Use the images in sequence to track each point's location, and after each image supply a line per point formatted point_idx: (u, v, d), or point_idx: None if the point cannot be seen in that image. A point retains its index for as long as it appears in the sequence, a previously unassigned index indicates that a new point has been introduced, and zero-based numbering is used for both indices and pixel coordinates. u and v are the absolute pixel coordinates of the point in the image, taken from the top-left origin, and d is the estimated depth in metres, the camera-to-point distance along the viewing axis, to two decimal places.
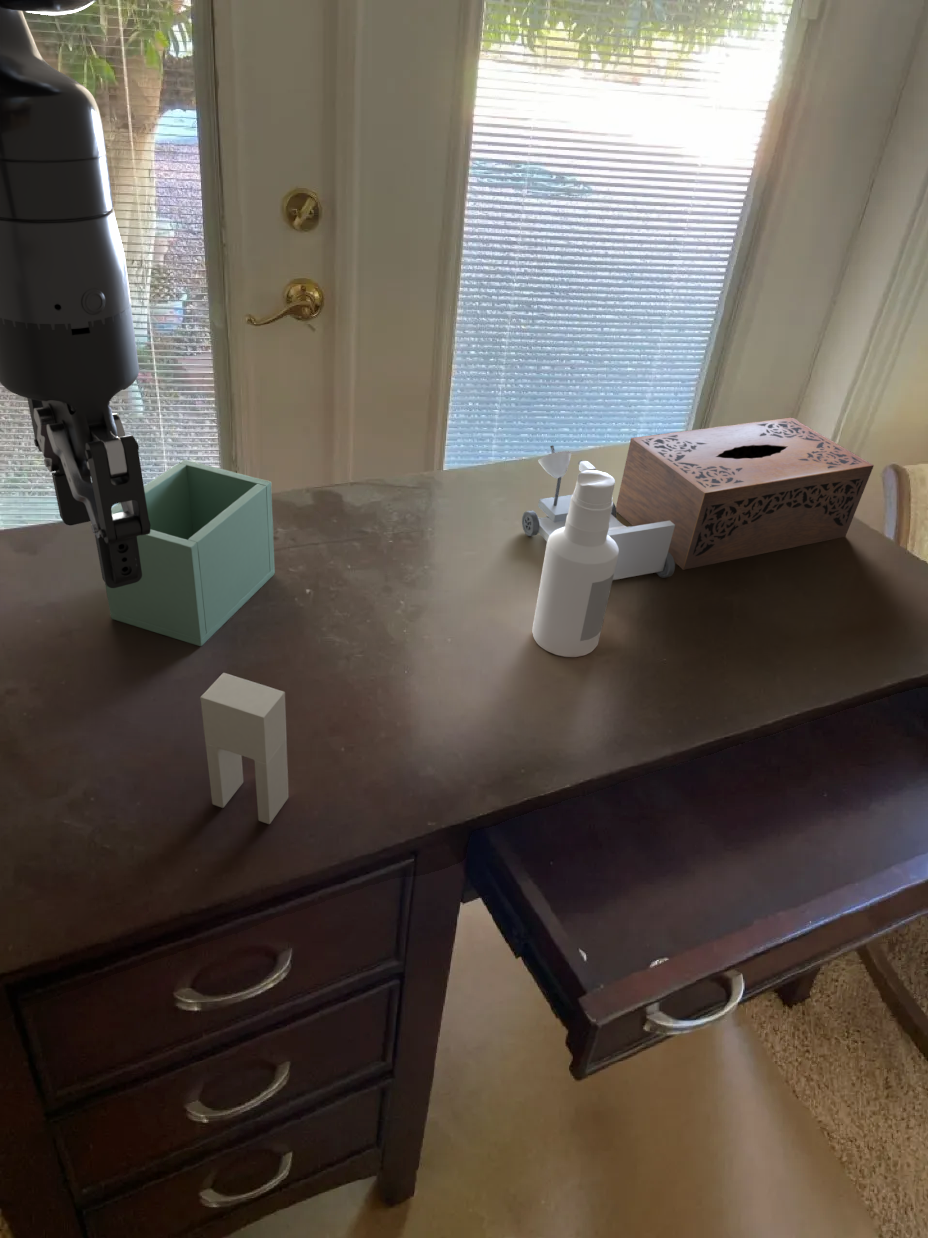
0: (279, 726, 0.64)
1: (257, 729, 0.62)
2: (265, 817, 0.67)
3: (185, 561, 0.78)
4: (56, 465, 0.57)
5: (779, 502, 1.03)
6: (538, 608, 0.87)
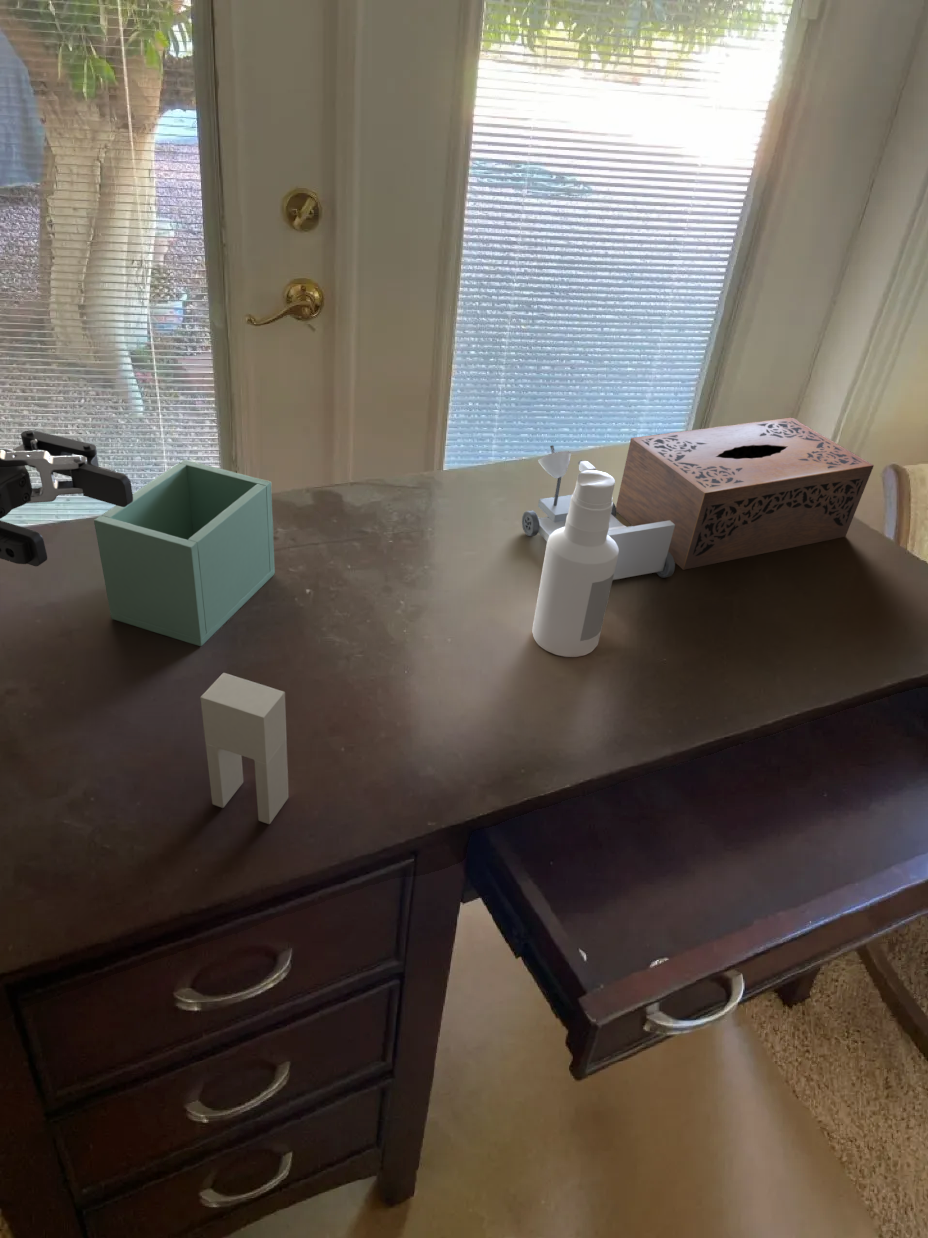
0: (279, 726, 0.64)
1: (257, 729, 0.62)
2: (265, 817, 0.67)
3: (185, 561, 0.78)
4: None
5: (779, 502, 1.03)
6: (538, 608, 0.87)
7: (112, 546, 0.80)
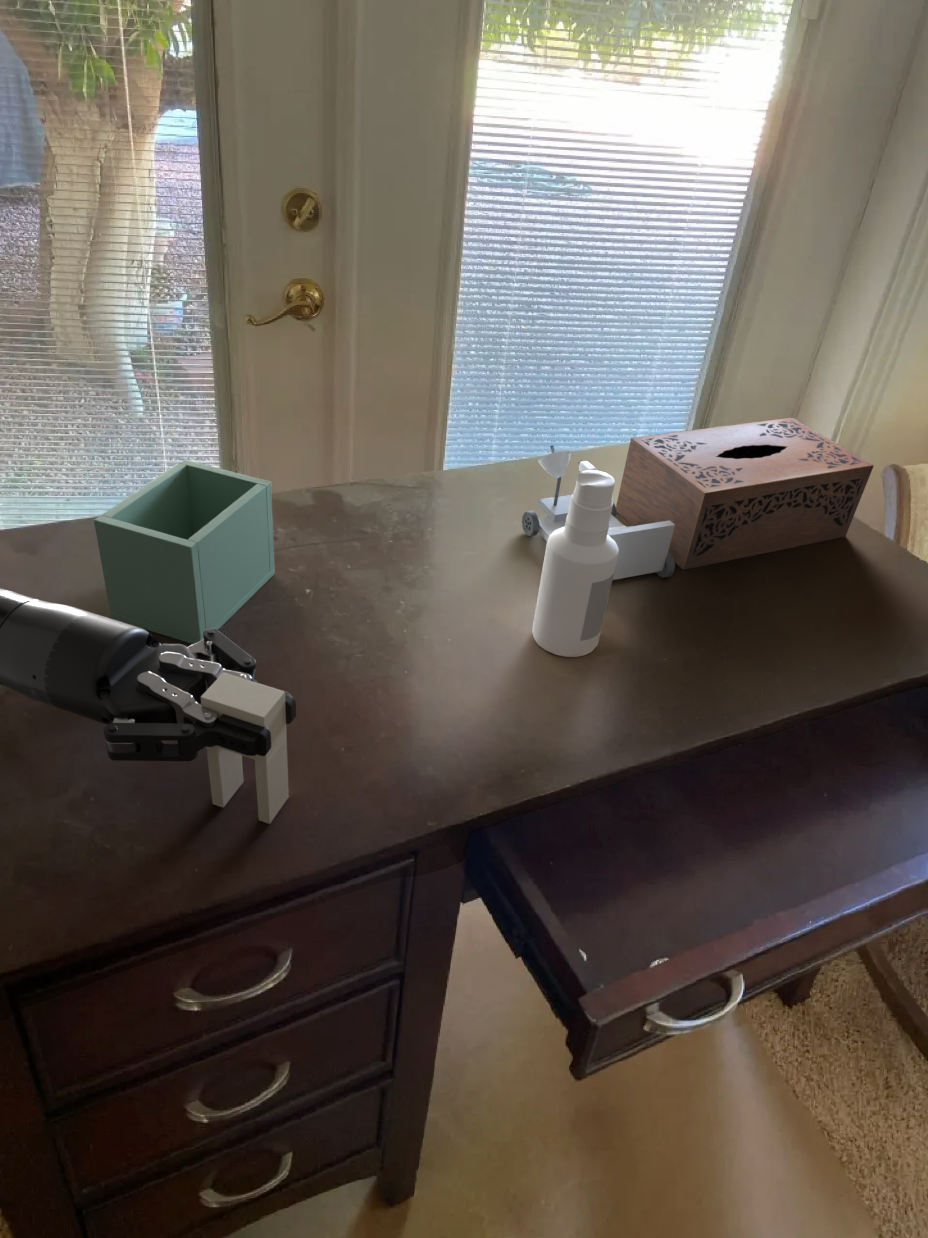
0: (279, 726, 0.64)
1: None
2: (265, 817, 0.67)
3: (185, 561, 0.78)
4: None
5: (779, 502, 1.03)
6: (538, 608, 0.87)
7: (112, 546, 0.80)
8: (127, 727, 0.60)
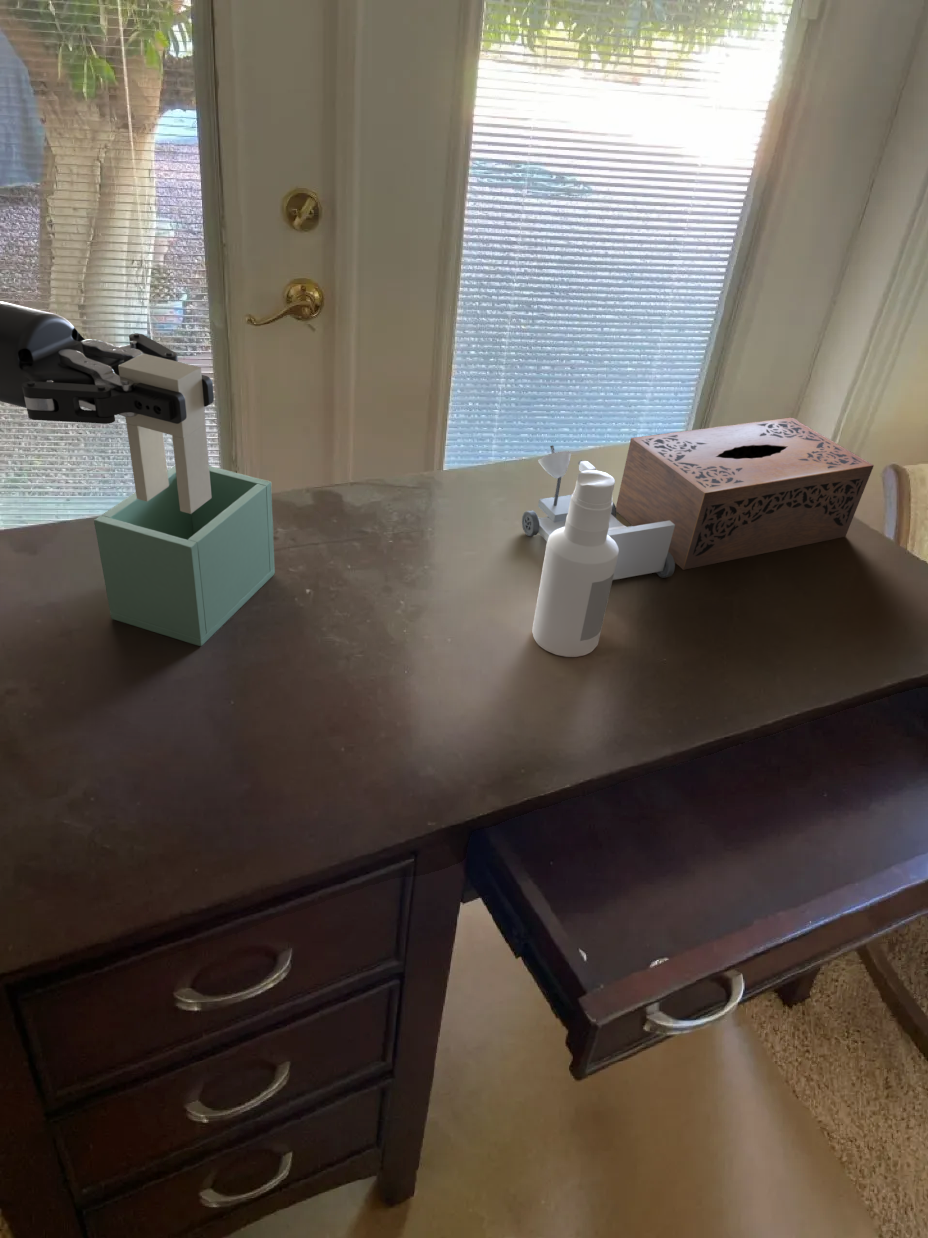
0: (196, 403, 0.66)
1: None
2: (186, 505, 0.69)
3: (185, 561, 0.78)
4: None
5: (779, 502, 1.03)
6: (538, 608, 0.87)
7: (112, 546, 0.80)
8: (45, 384, 0.63)
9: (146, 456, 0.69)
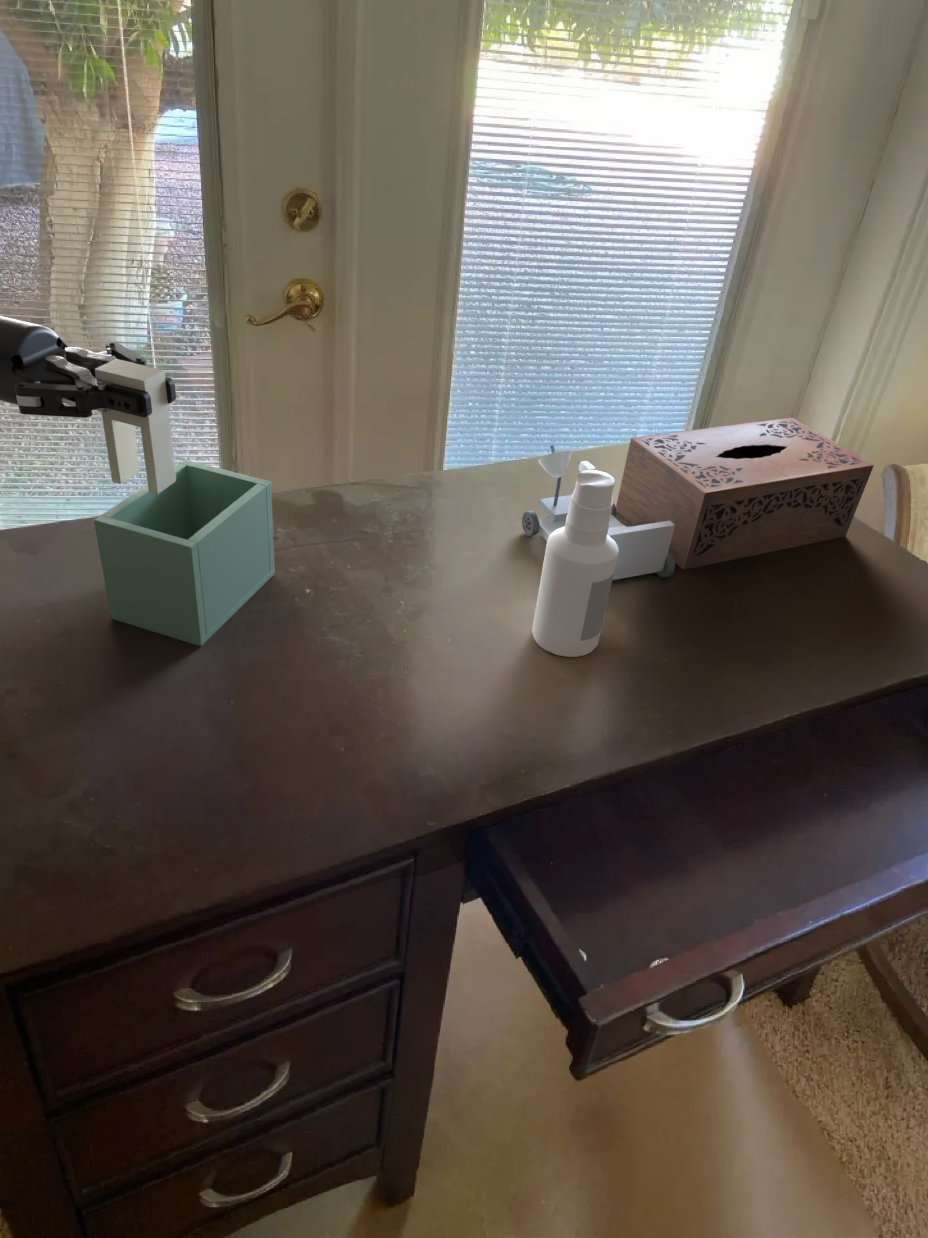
0: (161, 400, 0.79)
1: None
2: (153, 487, 0.82)
3: (185, 561, 0.78)
4: None
5: (779, 502, 1.03)
6: (538, 608, 0.87)
7: (112, 546, 0.80)
8: (33, 384, 0.75)
9: (119, 445, 0.82)
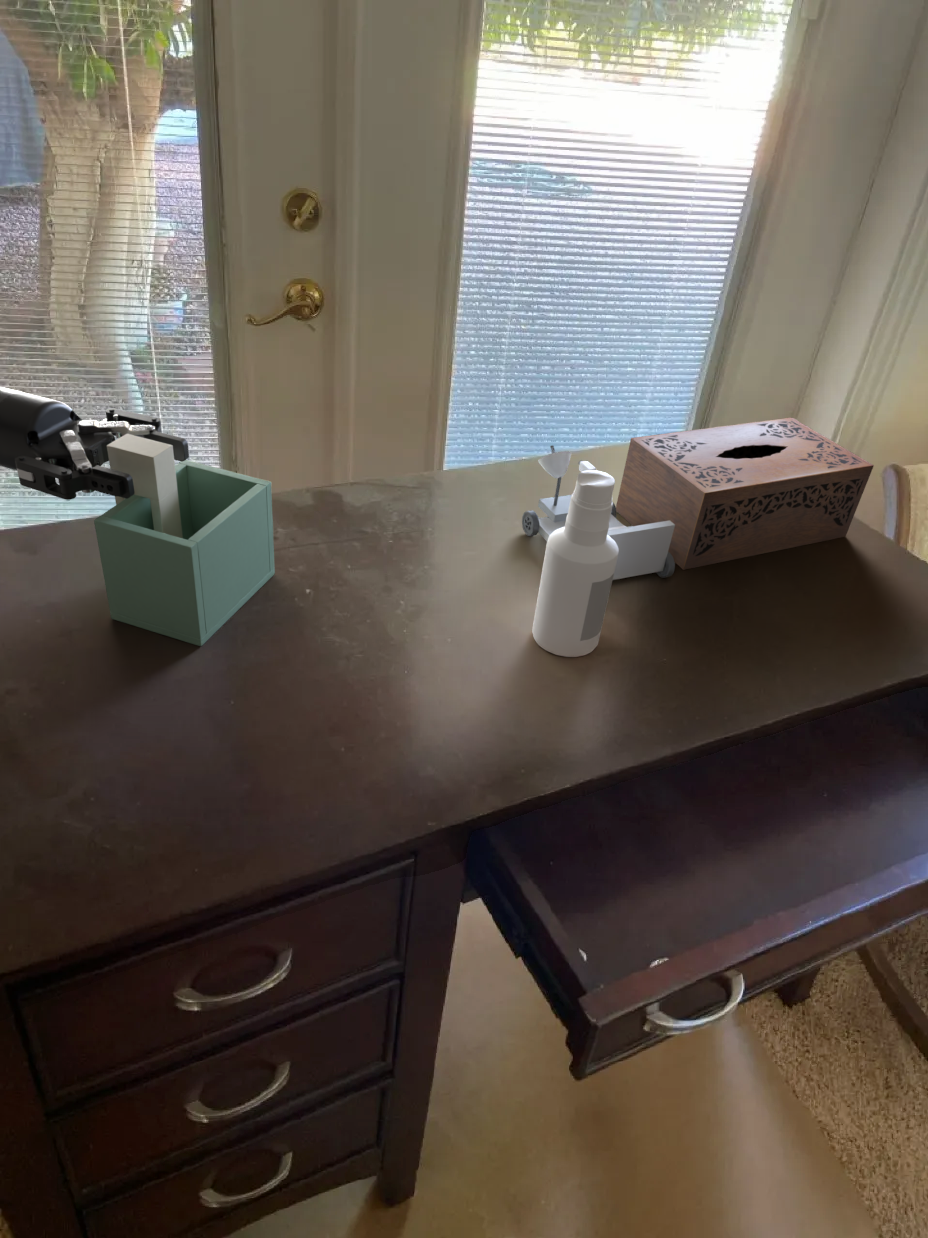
0: (169, 473, 0.83)
1: (149, 469, 0.81)
2: None
3: (185, 561, 0.78)
4: None
5: (779, 502, 1.03)
6: (538, 608, 0.87)
7: (112, 546, 0.80)
8: (31, 460, 0.79)
9: None
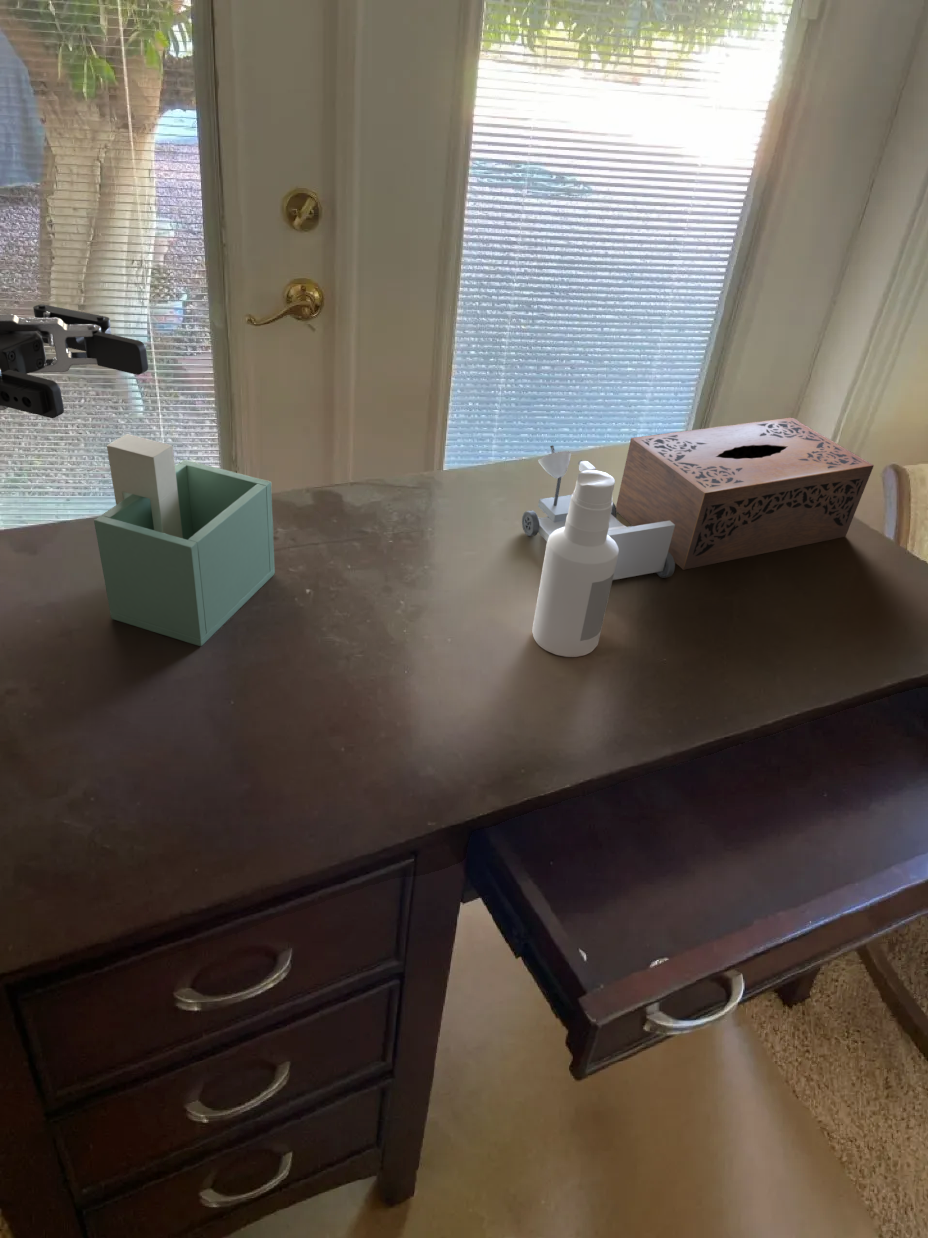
0: (169, 473, 0.83)
1: (149, 469, 0.81)
2: None
3: (185, 561, 0.78)
4: None
5: (779, 502, 1.03)
6: (538, 608, 0.87)
7: (112, 546, 0.80)
8: None
9: None
